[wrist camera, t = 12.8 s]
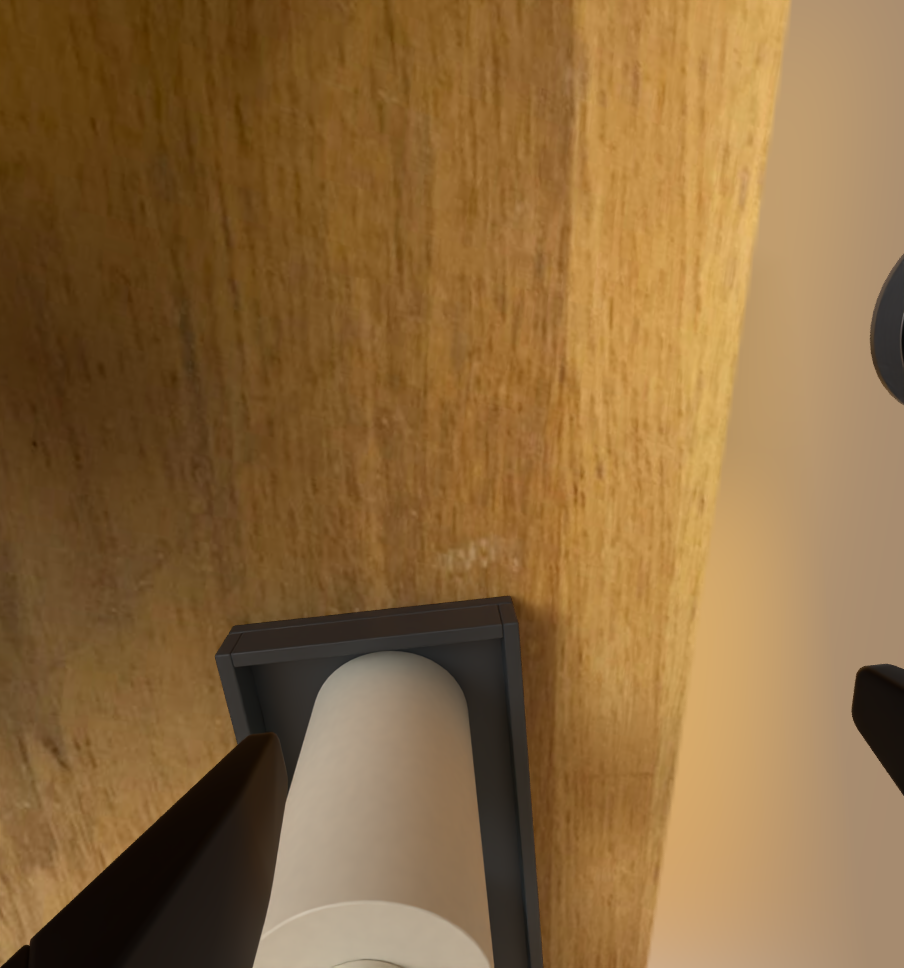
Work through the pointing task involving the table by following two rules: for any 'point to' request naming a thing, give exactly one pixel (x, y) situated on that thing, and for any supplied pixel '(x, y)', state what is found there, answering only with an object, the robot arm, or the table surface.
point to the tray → (491, 708)
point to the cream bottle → (381, 828)
